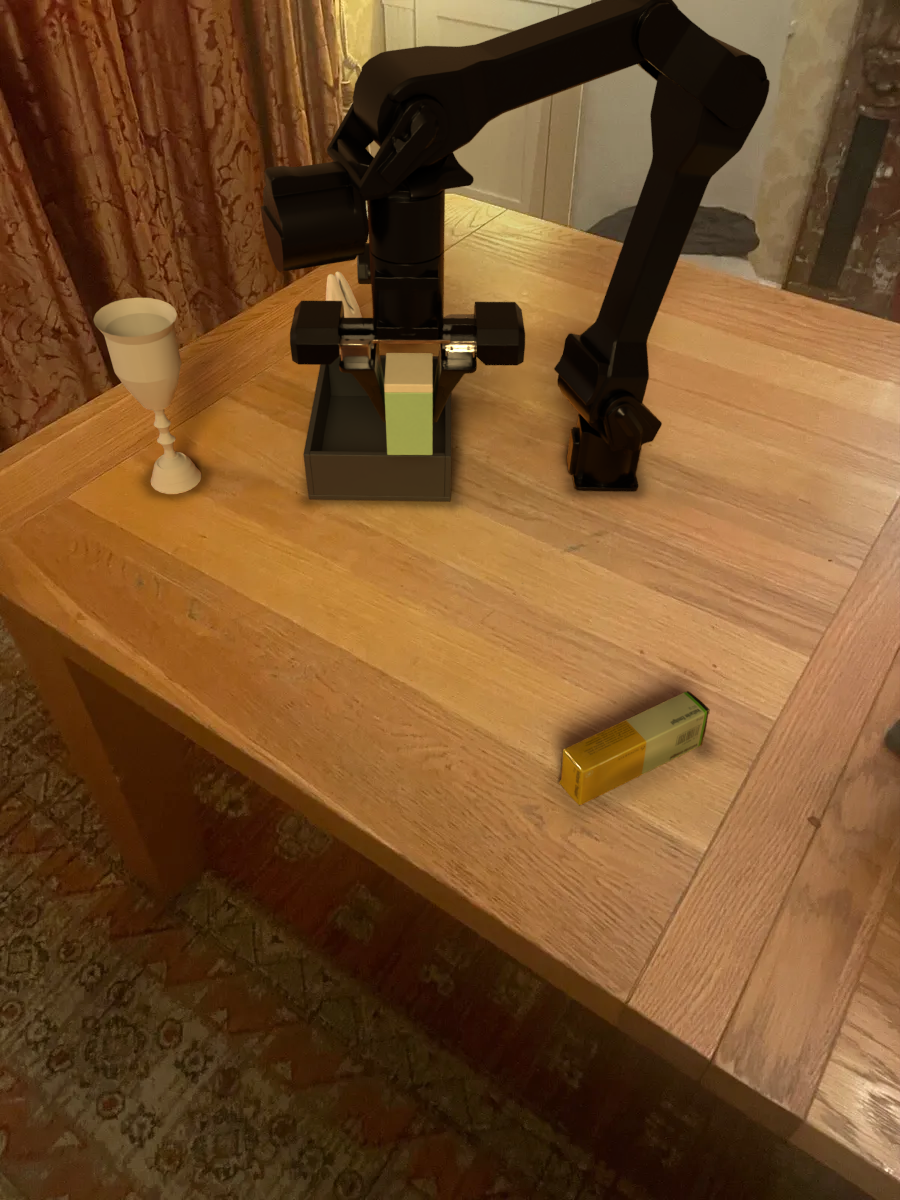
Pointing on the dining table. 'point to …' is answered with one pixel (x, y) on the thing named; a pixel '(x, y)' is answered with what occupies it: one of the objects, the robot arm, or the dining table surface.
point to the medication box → (633, 747)
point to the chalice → (150, 375)
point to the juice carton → (409, 403)
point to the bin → (368, 447)
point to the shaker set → (342, 295)
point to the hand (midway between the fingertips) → (410, 419)
